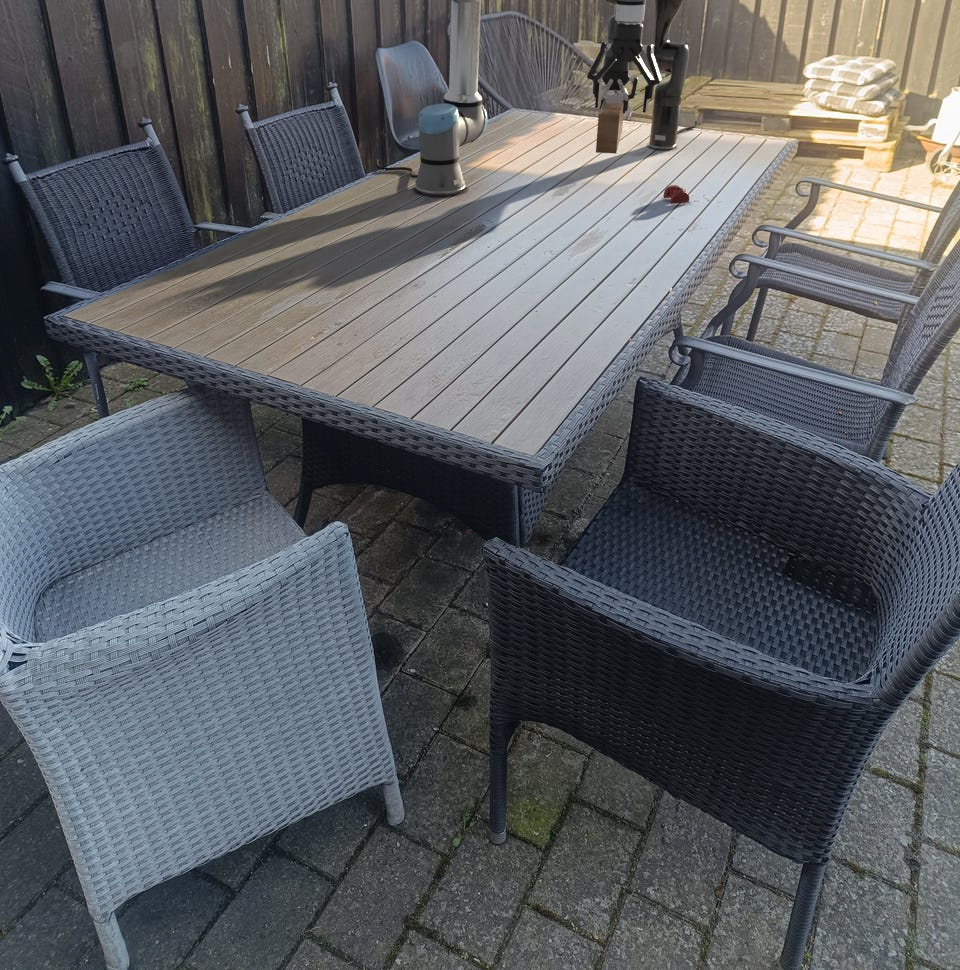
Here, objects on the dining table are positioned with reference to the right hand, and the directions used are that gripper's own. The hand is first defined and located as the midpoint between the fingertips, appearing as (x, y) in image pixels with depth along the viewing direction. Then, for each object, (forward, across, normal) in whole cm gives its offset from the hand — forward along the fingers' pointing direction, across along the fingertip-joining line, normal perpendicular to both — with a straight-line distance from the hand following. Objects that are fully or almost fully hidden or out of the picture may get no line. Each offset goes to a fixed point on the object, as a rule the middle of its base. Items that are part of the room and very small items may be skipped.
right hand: (613, 112), depth 268 cm
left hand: (-9, -4, +37) cm, 38 cm away
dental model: (+17, -22, +32) cm, 42 cm away
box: (+7, 0, +9) cm, 11 cm away
